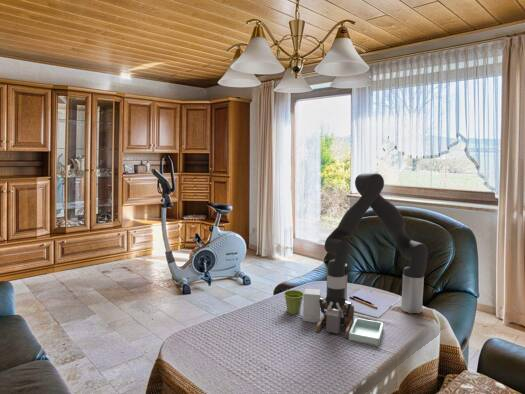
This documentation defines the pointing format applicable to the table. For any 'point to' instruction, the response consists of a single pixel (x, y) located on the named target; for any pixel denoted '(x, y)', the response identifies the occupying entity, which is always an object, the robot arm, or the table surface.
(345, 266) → the travel mug
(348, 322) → the dock
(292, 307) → the plant pot
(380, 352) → the table surface
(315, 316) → the supplement box
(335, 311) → the grey rectangular block
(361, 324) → the tray
